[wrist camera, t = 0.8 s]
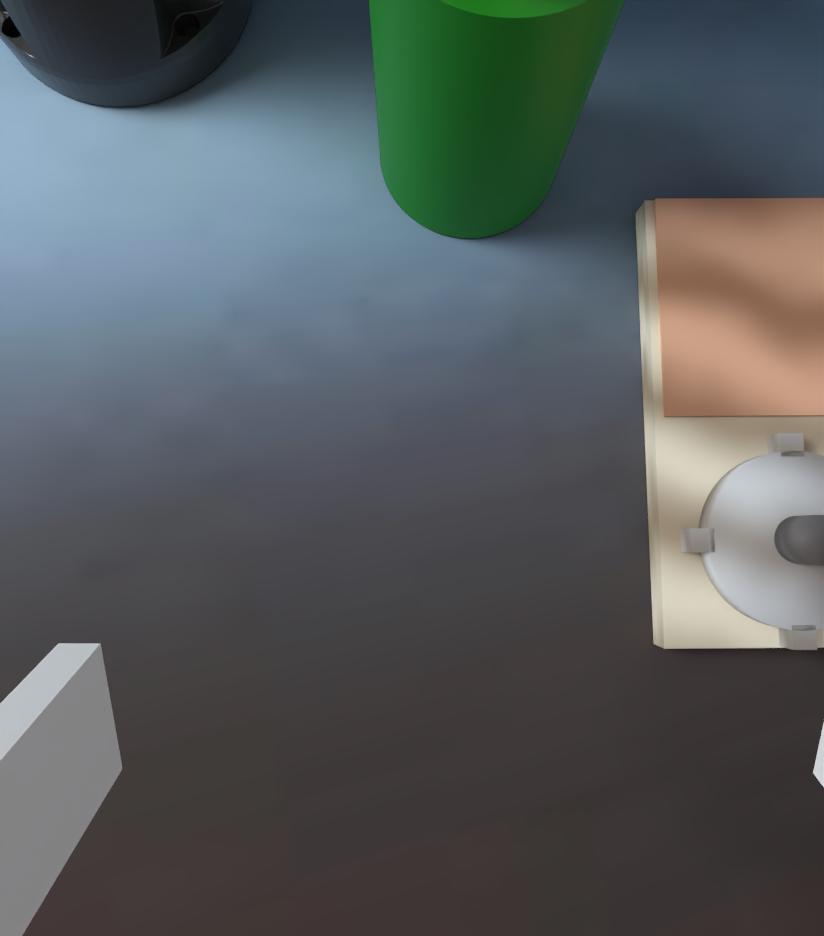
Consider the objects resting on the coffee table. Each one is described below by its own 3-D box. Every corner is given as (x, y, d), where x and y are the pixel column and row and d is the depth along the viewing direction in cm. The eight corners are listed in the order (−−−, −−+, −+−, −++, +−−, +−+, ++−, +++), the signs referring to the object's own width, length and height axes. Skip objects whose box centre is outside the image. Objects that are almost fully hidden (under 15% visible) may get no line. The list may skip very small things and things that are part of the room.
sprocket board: (635, 213, 37) (666, 170, 33) (862, 212, 37) (924, 169, 33) (653, 643, 35) (689, 659, 30) (896, 641, 35) (967, 657, 31)
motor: (558, 96, 38) (722, -382, 18) (553, 244, 37) (720, -90, 17) (384, 87, 38) (357, -402, 18) (375, 234, 37) (336, -111, 17)
